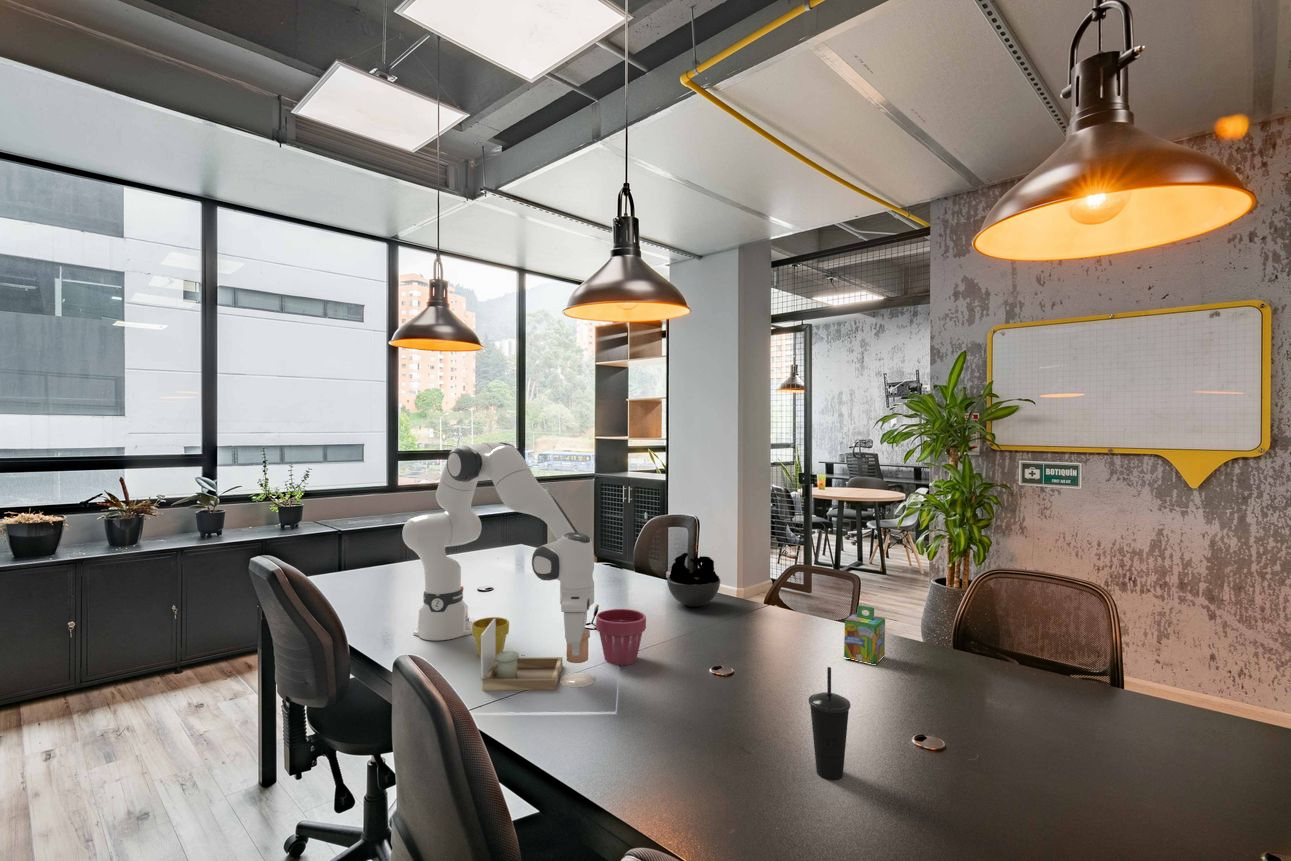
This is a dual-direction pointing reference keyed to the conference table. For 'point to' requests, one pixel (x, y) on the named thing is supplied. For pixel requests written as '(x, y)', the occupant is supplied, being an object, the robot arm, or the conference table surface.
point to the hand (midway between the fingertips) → (577, 649)
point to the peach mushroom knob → (583, 649)
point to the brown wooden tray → (527, 675)
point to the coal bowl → (693, 581)
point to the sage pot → (507, 664)
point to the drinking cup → (829, 731)
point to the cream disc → (577, 680)
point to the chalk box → (864, 636)
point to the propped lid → (488, 649)
